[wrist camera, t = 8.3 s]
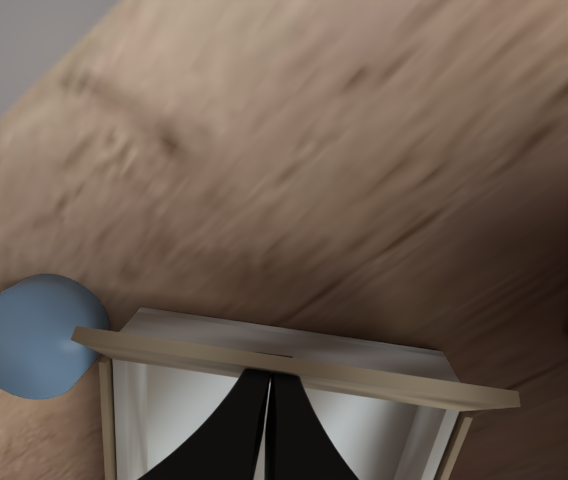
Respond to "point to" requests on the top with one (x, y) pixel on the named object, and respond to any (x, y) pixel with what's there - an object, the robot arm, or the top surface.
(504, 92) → the top surface
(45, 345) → the blue pebble
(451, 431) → the carton
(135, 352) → the flap
